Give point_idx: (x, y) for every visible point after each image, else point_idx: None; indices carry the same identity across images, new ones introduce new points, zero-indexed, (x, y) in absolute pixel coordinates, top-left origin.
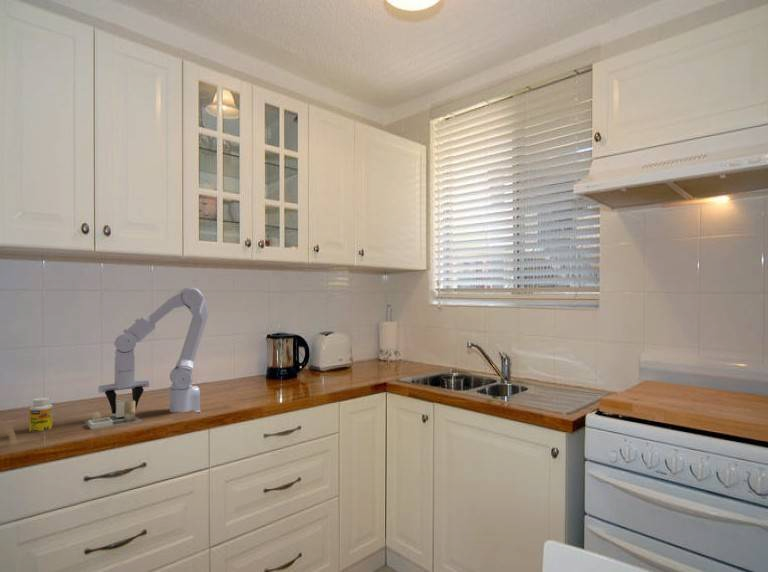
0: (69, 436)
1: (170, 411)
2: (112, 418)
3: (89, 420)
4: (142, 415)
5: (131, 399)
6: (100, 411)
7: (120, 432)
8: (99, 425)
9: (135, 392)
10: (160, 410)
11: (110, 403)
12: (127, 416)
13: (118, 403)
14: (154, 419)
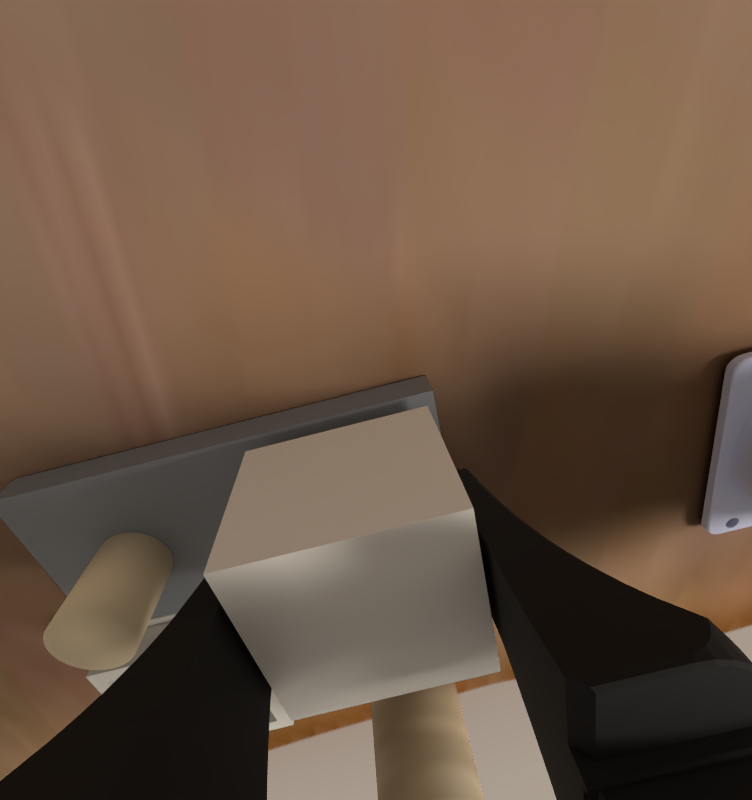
0: (63, 703)
1: (745, 474)
2: None
3: (102, 684)
4: (522, 353)
5: (469, 566)
6: (132, 640)
7: (348, 709)
8: None
9: (559, 796)
10: (741, 193)
11: (190, 617)
12: None
13: (307, 711)
14: (573, 528)
